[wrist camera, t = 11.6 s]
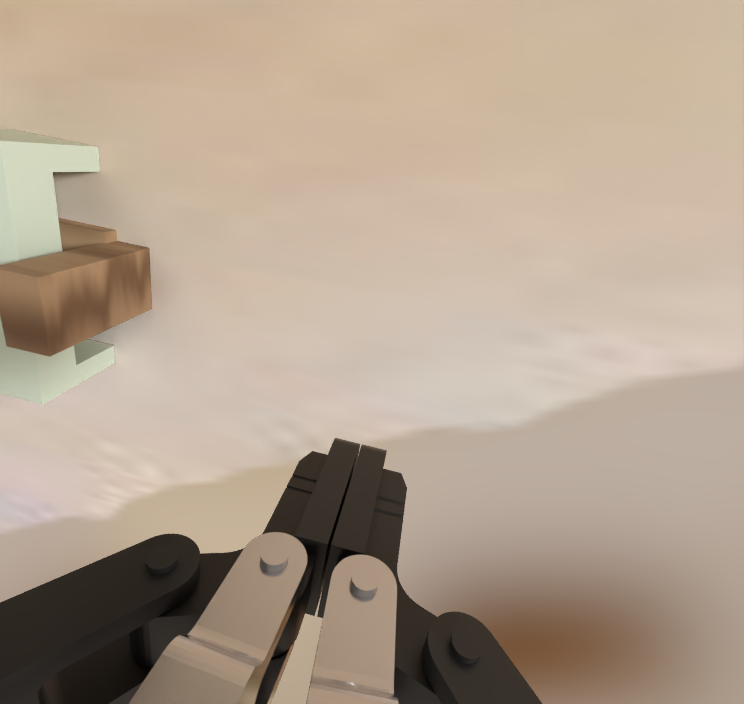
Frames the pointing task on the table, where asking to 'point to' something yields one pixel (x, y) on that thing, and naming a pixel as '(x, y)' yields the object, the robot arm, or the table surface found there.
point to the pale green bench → (39, 238)
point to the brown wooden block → (73, 290)
